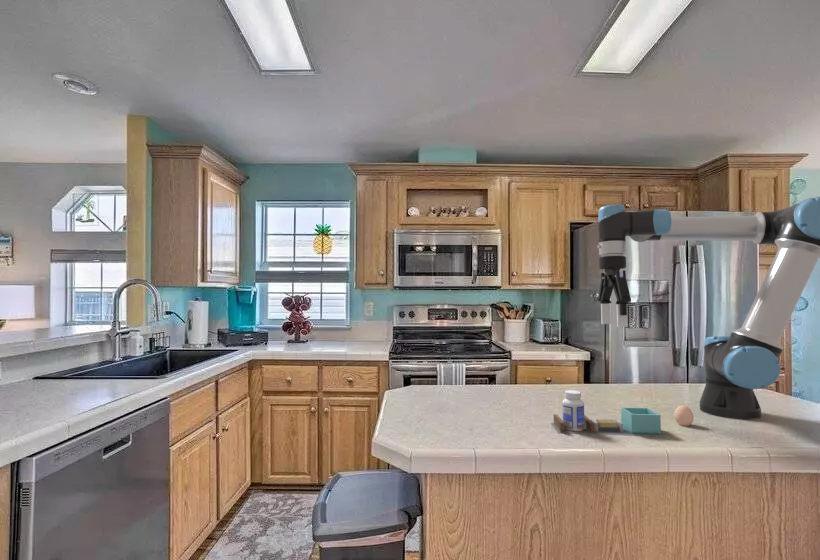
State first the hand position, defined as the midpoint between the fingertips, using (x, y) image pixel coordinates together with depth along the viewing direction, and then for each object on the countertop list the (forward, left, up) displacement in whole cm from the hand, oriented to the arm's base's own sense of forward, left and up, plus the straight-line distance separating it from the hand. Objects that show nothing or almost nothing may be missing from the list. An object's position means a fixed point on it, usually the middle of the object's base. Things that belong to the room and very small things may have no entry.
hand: (613, 325), depth 131 cm
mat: (+9, +18, -27) cm, 33 cm away
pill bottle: (+17, +18, -26) cm, 36 cm away
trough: (+17, +18, -26) cm, 36 cm away
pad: (+9, +18, -25) cm, 32 cm away
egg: (-14, +11, -27) cm, 32 cm away
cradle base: (+9, +18, -26) cm, 33 cm away
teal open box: (0, +18, -26) cm, 32 cm away
